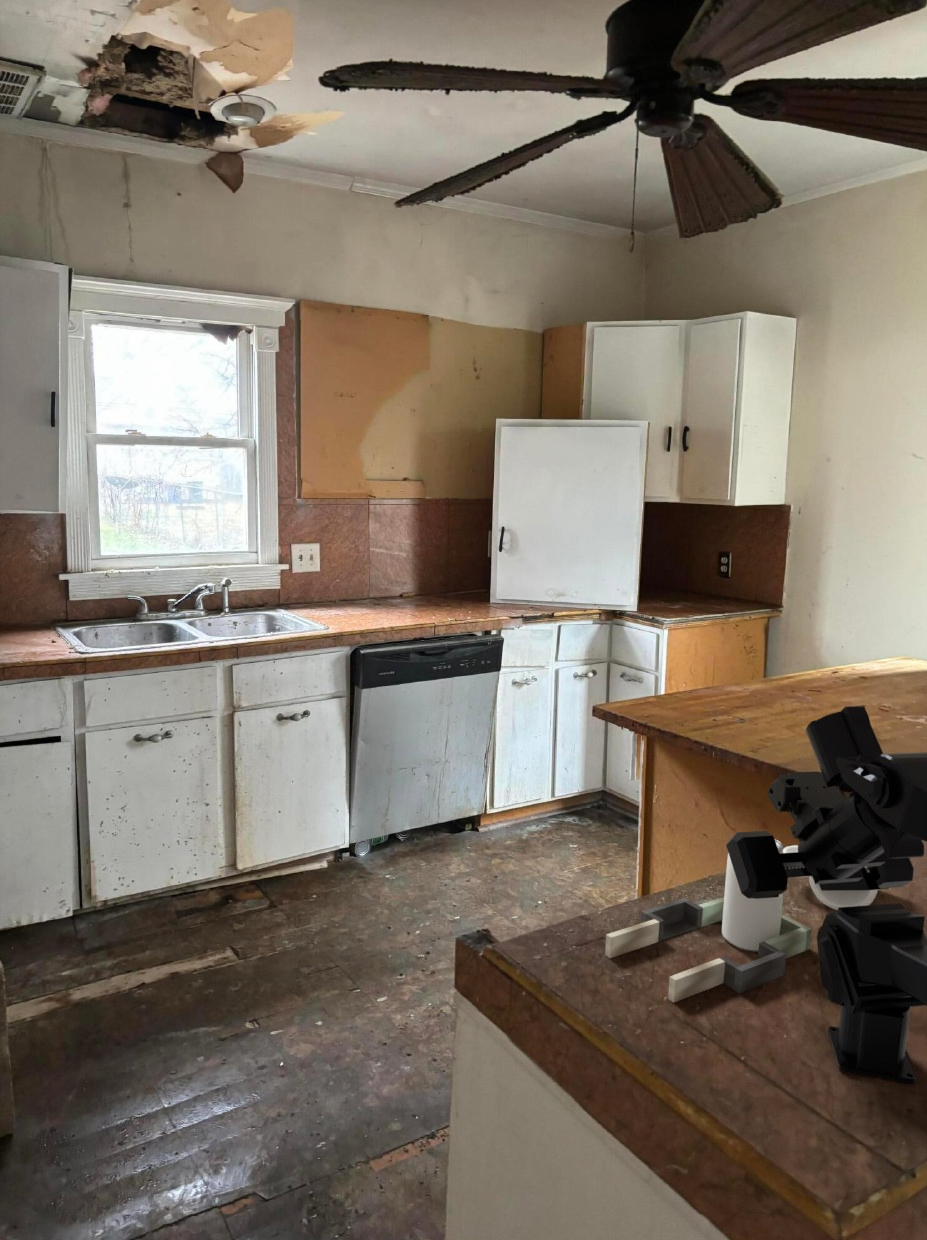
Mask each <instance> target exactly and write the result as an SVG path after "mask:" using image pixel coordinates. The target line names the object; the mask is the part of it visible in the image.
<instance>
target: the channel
mask: <svg viewBox="0 0 927 1240" xmlns="http://www.w3.org/2000/svg"><path fill="white" fill-rule="evenodd" d="M723 907H724V896H723V897H718V898H716V899H713V900H709V901H706V902H704V903H701V904H696V902H693V901H691V900H689V899H688V898H686V897H682V898H680V899H676V900H673V901H670V902H667V903H663V904H661V905H657V906H654V907H650V908H647V909H644V910H641V912H640V923H638V924H635V925H632V926H628V927H625V928H623V929H619V930H616V931H613V932H609V933H606V935H605V949H604V952H605V953H604V955H605V957H606V958H608V959H613V958H615V957H618V956H620V955H624V954H627V953H630V952H632V951H637V950H639V949H642V948H645V947H648V946H650V945H654V944H656V943H660V942H662V941H665V940H668V939H671V938H674V937H677V936H680V935H683V934H687V933H688V932H692V931H695V930H698V929H700V928H704V927H706V926H710V925H712V924H715V923H718V922H720V921H721V922H722V920H723ZM812 930H813V929H812V928H810V927H808V925H807V926H806V925H805V924H803V923H801V922H798V921H797V920H795V919H793V918H791V917H789V916H787V915H785V914H784V913H782V915H781V925H780V935H779V936H777V937H775V938H772V939H769V940H767V941H764V942H761V943H759V950H758V952H757V959H755V960H752V961H750V962H747V963H745V964H741V965H740V964H738V963H737V962H735V961H733V960H732V959H730V958H728V957H727V956H721V957H719V958H715V959H713V960H711V961H708V962H705V963H702V964H699V965H697V966H694V967H692V968H689V969H686V970H684V971H680V972H679V973H676V974H673V975H671V976H669V980H668V981H669V982H668V992H667V993H668V995H667V999H668V1000H669V1001H670V1002H672V1003H673V1004H674V1003H677V1002H680V1001H681V1000H683V999H687V998H690V997H692V996H694V995H697V994H700V993H702V992H705V991H708V990H710V989H713V988H715V987H717V986H719V985H722V984H724V985H725V986H727V987H729V988H730V989H732V990H734V991H735V992H737V993H738V994H742V993H744V992H747V991H749V990H752V989H754V988H757V987H759V986H761V985H764V984H766V983H769V982H772V981H774V980H775V979H776V980H777V979H778V978H779V979H780V978H781V977H783V976H785V974H786V973H785V972H786V962H787V961H786V959H788V958H791V957H793V956H796V955H798V954H801V953H803V952H804V953H805V952H806V951H808V950H810V949H811V938H812Z"/></svg>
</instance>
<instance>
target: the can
mask: <svg viewBox="0 0 927 1240" xmlns="http://www.w3.org/2000/svg"><path fill="white" fill-rule="evenodd" d="M774 839H775V838H774ZM775 842H776V845H777V848H778V851H779V853H783V849H784V848H785V847H784V845H783V843H782V842H781V841H779V840H777V839H775ZM726 859H727V861H726V871H725V884H724V895H723V897H724V907H723V920H722V921H721V923H722V924H721V934H722V936H723V938H724V940H726V942H727V943H728V944H730V945H731V946H733V947H735V948H737V949H740V950H743V951H746V952H750V953H758V950H759V943H761V942H764V941H767V940H769V939H772V938H775V937H777V936H779V935H780V925H781V915H782V914H783V903H784V901H783V900H784V892H783V893H782V894H779V897H773V898H760V899H754V898H747V897H746V896H744V895H743V894H742V893H741V891H740V887H739V884H738V881H737V878H736V875H735V872H734V868H733V865H732V862H731V859H730V856H729V853H728V852H727V858H726Z"/></svg>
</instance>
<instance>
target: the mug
mask: <svg viewBox="0 0 927 1240" xmlns="http://www.w3.org/2000/svg"><path fill="white" fill-rule="evenodd" d="M794 852H798V844H797V845H790V846H789V845H788V846H785V847H784V848H783V853H794ZM796 868H797V867H796ZM803 868H804V867H803ZM808 878H809V885H810V888H811V890H812V892H813V894H814V896H815V897H816V898H817V899H818V900H819V901H820V902H821V903H822V904H824V905H825V906H827V907H829V909H832V910H835V911H838V908H839V907H852V906H867V905H871V904H872V903H873V901H875V898H876V896H877V894H878V890H843V891H822V890H821V888H820V886H819V884H815V882H814V880H813V877H808Z"/></svg>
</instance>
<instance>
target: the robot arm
mask: <svg viewBox="0 0 927 1240" xmlns="http://www.w3.org/2000/svg"><path fill="white" fill-rule="evenodd" d="M870 720H871V719H870V716H869V714H868V712H867V709H866V707H865V706H863V705H849V706H848V705H845V706H844V707H843V708H842V709H841V710H840V711H837V712H833V713H829V714H827V715H823V716H822V717H820V718H817V720H812V721H810V722H809V723H808V725H807V726H806V728H805V733H806V735H807V738H808V741H809V742H810V743H809V744H810V745H811V748H812V751H813V754H814V757H815V758H816V761H817V764H818V767H819V770H820V771H815V770H814V771H798V772H797V771H793V772H789V773H788V774H787V775H785V774H784V775H779V777H778V778H777V779H776V780H773V781H772V783H770V785H769V786H770V787H769V788H768V791H767V797H768V799H769V800H770V802H771V804H772V805H773V807H774V808H775V810H776V812H778V813H785V812H787V813H789V815H790V816H791V818H792V820H794V822H795V823H793V824H792V825H791V826H790V827H789V828H790V830H791V835H792V837H793V838H794V839H795V840H796V839H797V840H798V843H797V845H798V852H794V853H779V851H778V848H777V845H776V842H775V837H774V835H773V834H772V833H770V832H769V831H768V830H757V831H756V830H755V831H754V830H753V831H737V832H735V834H733V835H732V836H731V837H730V839H728V841H727V842H726V844H725V845H726V850H727V851H728V852H727V854H728V853H729V856H730V859H731V862H732V865H733V868H734V872H735V875H736V878H737V881H738V884H739V887H740V891H741V893H742V894H743V895H744V896H746V897H747V898H754V899H760V898H773V897H779V894H782V893H783V892H786V891H787V890H788V881H789V880H788V879H798V878H799V879H800V878H809V877H813V880H814V882H815V884H819V886H820V888H821V890H822V891H843V890H877V891H878V890H889V889H893V888H904V887H905V886H906V885H908V884H910V883H912V882H913V879H914V874H915V866H914V864H913V862H912V860H911V858H923V857H924V855H925V844H924V842H926V843H927V751H926V752H923V751H922V752H896V753H894V752H892V753H891V752H890V753H884V751H883V749H882V747H881V745H880V742H879V740H878V738H877V735H876V734H875V731H874V729H873V727H872V724H871V721H870ZM838 787H839V788H838ZM841 792H844V793H850V794H849V795H848V796H847V797H844V795H843V794H842V793H841ZM796 867H797V868H796ZM803 867H804V868H803ZM783 894H784V893H783ZM924 926H925V915H924V914H920V913H916V912H911V911H909V910H908V909H906V908H905V907H904V906H903V904H901V902H900V903H899V902H898V903H897V902H896V903H885V904H884V903H883V904H882V903H881V904H872V905H871V904H870V905H867V906H852V907H839V908H838V910H837V911H830V912H827V913H826V914H825V918H824V919H823V923H822V925H821V926H820V927H819V928H818V929H817V930H818V931H817V934H816V943H817V944H816V945H817V952H818V963H819V971H820V980H821V986H822V988H823V989H824V990H826V991H827V999H828V1001H829V1002H831V1003H833V1004H836V1005H838V1006H839V1005H840V1006H841V1007H840V1017H839V1023H838V1024H839V1025H838V1026H834V1025H833V1026H831V1025H829V1026H828V1027H827V1033H828V1037H829V1041H830V1043H831V1047H832V1051H833V1054H834V1057H835V1061H836V1064H837V1068H838V1069H839V1070H840V1071H841V1072H843V1073H849V1074H855V1075H860V1076H865V1077H866V1076H867V1077H872V1078H879V1079H883V1080H890V1081H891V1080H892V1081H897V1082H901V1083H902V1082H903V1083H909V1084H914V1083H916V1080H917V1079H916V1078H917V1076H916V1074H915V1071H914V1069H913V1067H912V1064H911V1062H910V1059H909V1057H908V1055H907V1053H906V1048H907V1039H908V1037H907V1036H908V1030H909V1022H910V1014H911V1008H913V1007H924V1006H926V1007H927V933H926V930H925V928H924Z"/></svg>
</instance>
